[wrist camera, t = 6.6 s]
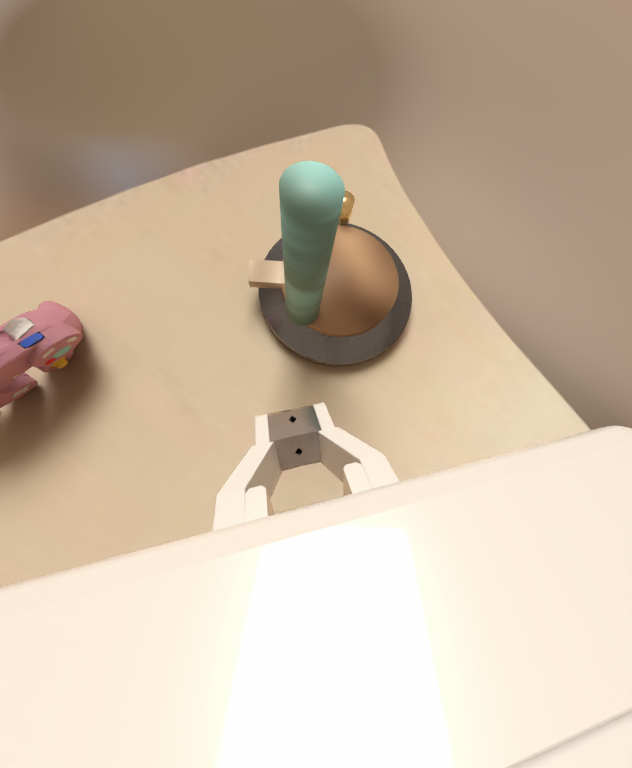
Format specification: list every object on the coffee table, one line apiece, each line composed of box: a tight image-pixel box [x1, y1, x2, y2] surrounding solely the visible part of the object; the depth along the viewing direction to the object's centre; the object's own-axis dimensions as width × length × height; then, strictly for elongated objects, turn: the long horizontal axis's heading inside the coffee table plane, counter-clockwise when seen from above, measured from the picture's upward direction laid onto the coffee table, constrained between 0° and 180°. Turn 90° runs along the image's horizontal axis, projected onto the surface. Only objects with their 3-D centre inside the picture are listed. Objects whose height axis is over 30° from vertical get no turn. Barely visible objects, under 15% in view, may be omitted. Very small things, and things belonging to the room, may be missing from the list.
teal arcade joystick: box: [249, 161, 399, 337], centre depth 16 cm, size 11×11×11 cm
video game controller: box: [0, 301, 83, 416], centre depth 17 cm, size 10×5×7 cm, turn 139°
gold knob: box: [338, 191, 354, 226], centre depth 22 cm, size 2×2×3 cm
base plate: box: [259, 224, 412, 366], centre depth 22 cm, size 14×14×2 cm
